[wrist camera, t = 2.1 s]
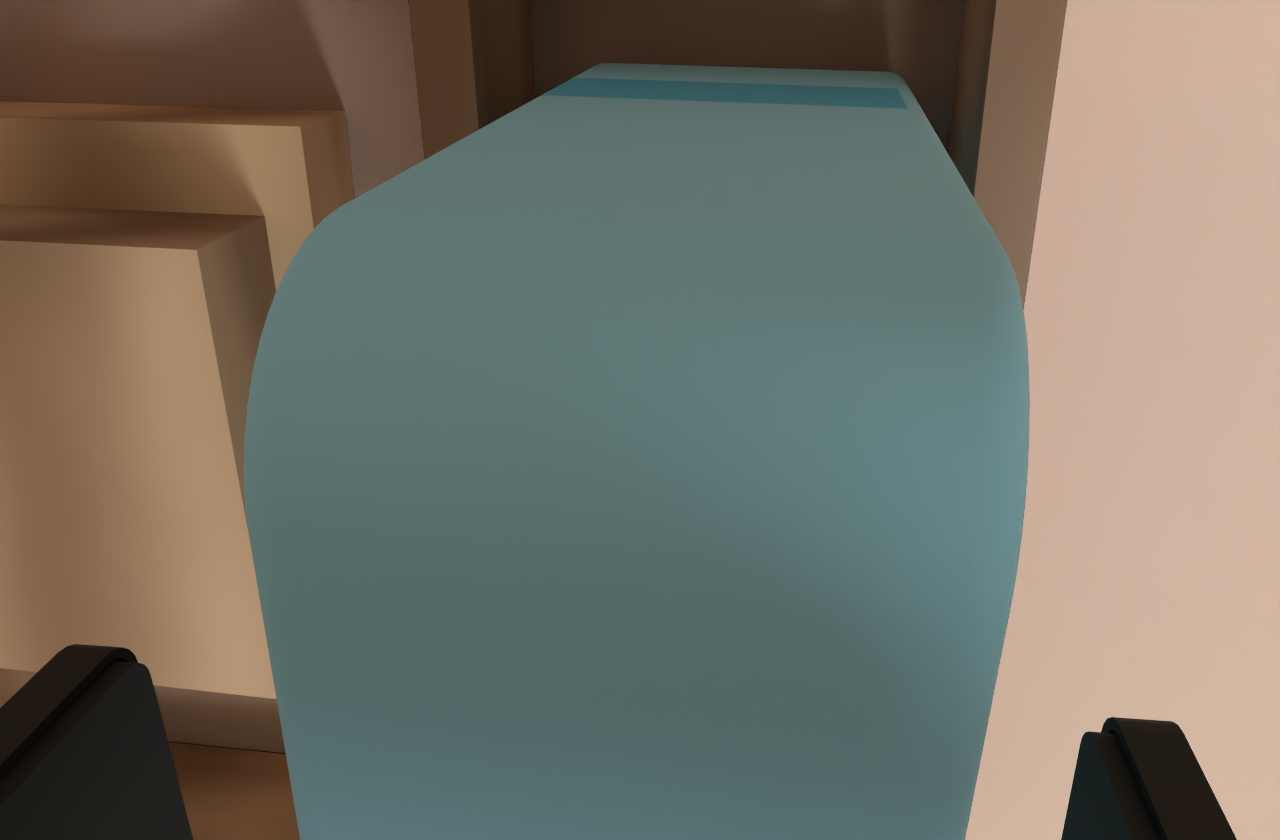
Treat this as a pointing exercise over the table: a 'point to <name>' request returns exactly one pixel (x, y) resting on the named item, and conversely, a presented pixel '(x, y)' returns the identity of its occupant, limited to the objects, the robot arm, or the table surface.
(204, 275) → the offcut stack
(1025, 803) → the table surface
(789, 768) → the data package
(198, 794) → the rack
